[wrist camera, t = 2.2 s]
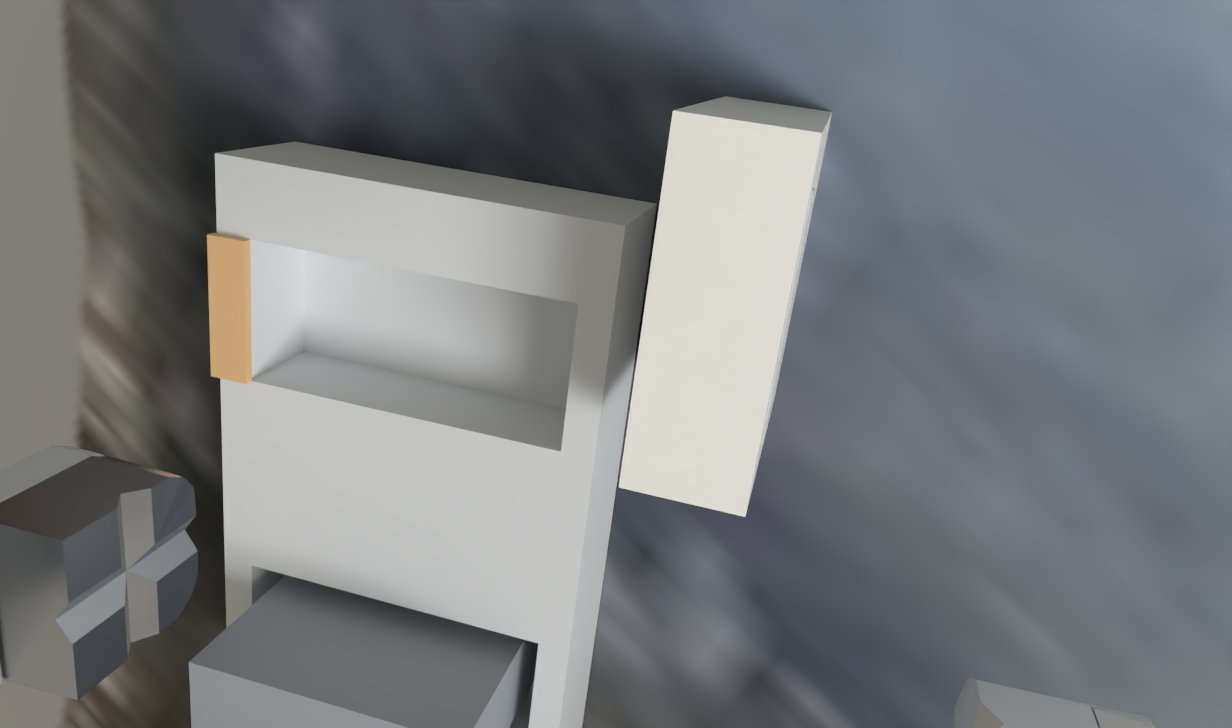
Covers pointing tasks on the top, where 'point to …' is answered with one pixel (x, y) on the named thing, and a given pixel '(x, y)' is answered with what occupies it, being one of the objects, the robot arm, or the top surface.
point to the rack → (413, 439)
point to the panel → (720, 297)
